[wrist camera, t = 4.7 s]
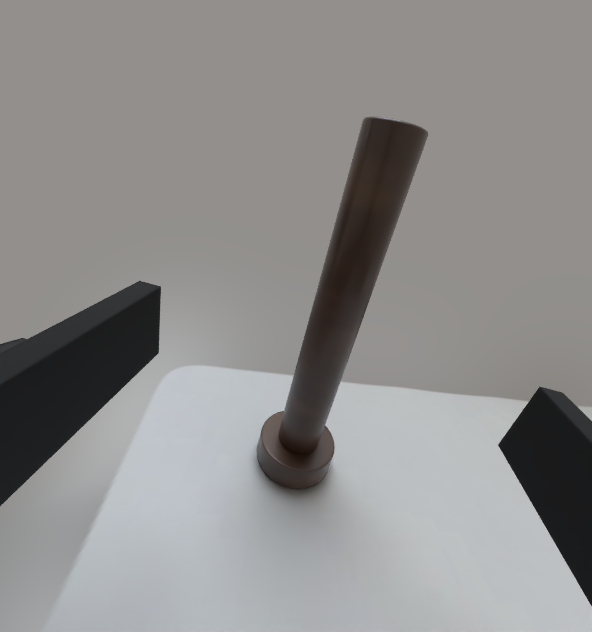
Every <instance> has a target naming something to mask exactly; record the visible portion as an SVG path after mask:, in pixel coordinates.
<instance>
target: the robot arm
mask: <svg viewBox="0 0 592 632" xmlns="http://www.w3.org/2000/svg"><path fill="white" fill-rule="evenodd" d="M160 294H161V287H160V286H157V285H153V284H149V283H145V282H141V281H139V282H137V283H135V284H133V285H131V286H129V287H127V288H125V289H123V290H121V291H119V292H117V293H116V294H114V295H112V296H110V297H108V298H106V299H104V300H102V301H100V302H98V303H97V304H94V305H92V306H90V307H89V308H87V309H85V310H83V311H81V312H79V313H77V314H75V315H73V316H71V317H69V318H68V319H66V320H64V321H62V322H60V323H58V324H56V325H54V326H52V327H50V328H48V329H46V330H44V331H42V332H41V333H39V334H37V335H35V336H33V337H31V338H29V339H24V338H21V339H18V340H14V341H10V342H7V343H3V344H0V506H1V505H2V504H3V503H4V502H5V501H6V500H7V499H8V498H9V497H10V496H11V495H12V494H13V493H14V492H15V491H16V490H17V489H18V488H19V487H20V486H22V485H23V484H24V483H25V482H26V481H27V480H28V479H29V478H30V477H31V476H32V475H33V474H34V473H35V472H36V471H37V470H38V469H39V468H40V467H41V466H42V465H43V464H44V463H45V462H46V461H47V460H48V459H49V458H50V457H52V456H53V455H54V454H55V453H56V452H57V451H58V450H59V449H60V448H61V447H62V446H63V445H64V444H65V443H66V442H67V441H68V440H69V439H70V438H71V437H72V436H73V435H74V434H75V433H76V432H77V431H78V430H79V429H80V428H81V427H83V426H84V424H86V422H88V421H89V420H90V419H91V418H92V417H93V416H94V415H95V414H96V413H97V412H98V411H99V410H100V409H101V408H102V407H103V406H104V405H105V404H106V403H107V402H108V401H109V400H110V399H111V398H113V397H114V396H115V395H116V394H117V393H118V392H119V391H120V390H121V389H122V388H123V387H124V386H125V385H126V384H127V383H128V382H129V381H130V380H131V379H132V378H133V377H134V376H135V375H136V374H137V373H138V372H139V371H140V370H142V369H143V367H145V366H146V364H148V363H149V362H150V361H151V360H152V359H153V358H154V357H155V356H156V355H157V354H158V352H159V323H160V296H161V295H160ZM498 446H499V447H500V449H501V451H502V452H503V454H504V456H505V458H506V459H507V461H508V463H509V464H510V466H511V468H512V470H513V471H514V473H515V475H516V477H517V478H518V480H519V482H520V483H521V485H522V487H523V489H524V490H525V492H526V494H527V496H528V497H529V499H530V501H531V502H532V504H533V506H534V508H535V509H536V511H537V513H538V515H539V516H540V518H541V520H542V521H543V523H544V525H545V527H546V528H547V530H548V532H549V533H550V535H551V537H552V539H553V540H554V542H555V544H556V546H557V547H558V549H559V551H560V552H561V554H562V556H563V558H564V559H565V561H566V563H567V565H568V566H569V568H570V570H571V571H572V573H573V575H574V577H575V578H576V580H577V582H578V584H579V585H580V587H581V589H582V590H583V592H584V594H585V596H586V597H587V599H588V601H589V602H590V604H591V606H592V421H591V420H590V419H589V418H588V417H587V416H586V415H585V414H584V413H583V412H582V411H581V410H580V409H579V408H578V407H577V406H576V405H574V404H573V402H572V401H571V400H569V399H568V398H567V397H566V396H565V395H564V394H563V393H561V392H557V391H554V390H550V389H546V388H542V387H539V388H538V390H537V391H536V393H535V394H534V395H533V397H532V398H531V400H530V401H529V402H528V404H527V405H526V407H525V408H524V409H523V411H522V412H521V414H520V415H519V416H518V418H517V419H516V421H515V422H514V423H513V425H512V426H511V428H510V429H509V430H508V432H507V433H506V435H505V436H504V437H503V439H502V440H501V442H500V443H499V444H498Z"/></svg>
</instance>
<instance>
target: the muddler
mask: <svg viewBox="0 0 592 632" xmlns="http://www.w3.org/2000/svg"><path fill="white" fill-rule="evenodd" d="M427 137H428V132H427V131H426V130H425V129H423V128H421V127H419V126H417V125H414V124H411V123H408V122H404V121H400V120H395V119H390V118H383V117H367V118H365V119H364V120H363V123H362V127H361V130H360V134H359V137H358V141H357V145H356V148H355V152H354V156H353V159H352V163H351V167H350V170H349V174H348V178H347V182H346V185H345V189H344V193H343V196H342V200H341V204H340V208H339V211H338V215H337V219H336V222H335V226H334V230H333V233H332V237H331V241H330V245H329V248H328V252H327V255H326V259H325V263H324V267H323V270H322V274H321V277H320V281H319V285H318V288H317V292H316V296H315V300H314V303H313V307H312V311H311V315H310V318H309V322H308V325H307V329H306V333H305V336H304V340H303V344H302V348H301V351H300V355H299V359H298V363H297V366H296V370H295V373H294V377H293V381H292V384H291V388H290V392H289V395H288V399H287V403H286V407H285V410H284V411H281V412H278V413H276V414H274V415H272V416H271V417H270V418H268V419H267V421H266V422H265V423H264V425H263V427H262V430H261V434H260V439H259V443H258V447H257V456H258V460H259V463H260V465H261V467H262V469H263V470H264V472H265V473H266V474H267V475H268V476H269V477H270V478H271V479H272V480H274V481H275V482H277V483H279V484H281V485H283V486H286V487H290V488H297V489H299V488H307V487H310V486H313V485H315V484H317V483H318V482H319V481H321V480H322V479H323V477H324V476H325V474H326V472H327V470H328V467H329V465H330V462H331V460H332V457H333V454H334V441H333V437H332V435H331V433H330V431H329V430H328V428H327V427H326V426H325V423H326V421H327V418H328V415H329V412H330V409H331V407H332V404H333V401H334V398H335V395H336V393H337V390H338V387H339V384H340V381H341V379H342V376H343V373H344V370H345V367H346V364H347V362H348V359H349V356H350V353H351V350H352V347H353V345H354V342H355V339H356V336H357V334H358V331H359V328H360V325H361V322H362V319H363V317H364V314H365V311H366V308H367V305H368V303H369V300H370V297H371V294H372V291H373V289H374V286H375V283H376V280H377V277H378V275H379V272H380V269H381V266H382V263H383V260H384V257H385V255H386V252H387V249H388V246H389V244H390V241H391V238H392V235H393V232H394V229H395V227H396V224H397V221H398V218H399V215H400V213H401V210H402V207H403V204H404V201H405V199H406V196H407V193H408V190H409V187H410V185H411V182H412V179H413V176H414V173H415V170H416V167H417V164H418V162H419V159H420V156H421V154H422V151H423V148H424V145H425V142H426V139H427Z"/></svg>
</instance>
